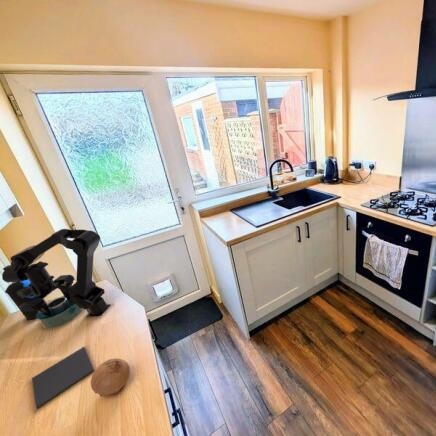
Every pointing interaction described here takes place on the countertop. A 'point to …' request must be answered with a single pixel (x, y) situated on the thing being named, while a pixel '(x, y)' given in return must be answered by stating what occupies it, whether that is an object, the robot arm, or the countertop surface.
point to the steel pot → (58, 306)
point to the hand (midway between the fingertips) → (59, 307)
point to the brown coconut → (110, 376)
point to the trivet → (61, 377)
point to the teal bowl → (59, 316)
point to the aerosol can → (12, 292)
